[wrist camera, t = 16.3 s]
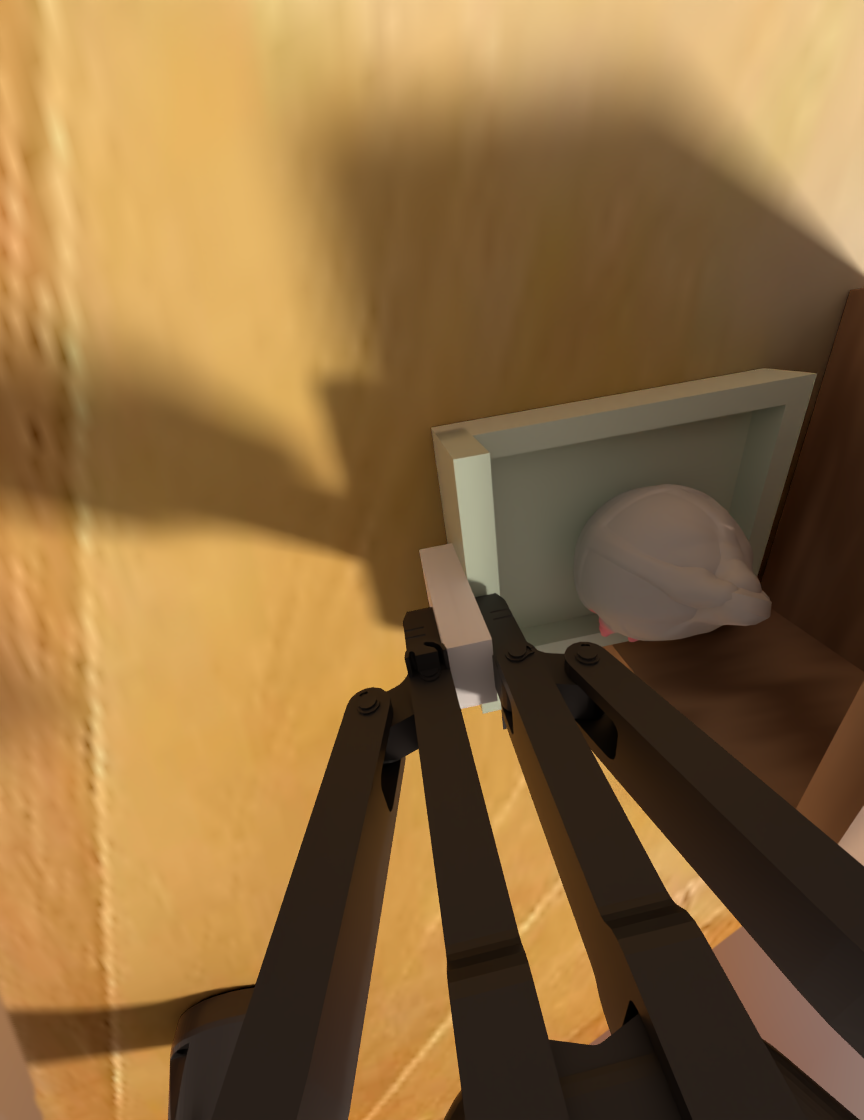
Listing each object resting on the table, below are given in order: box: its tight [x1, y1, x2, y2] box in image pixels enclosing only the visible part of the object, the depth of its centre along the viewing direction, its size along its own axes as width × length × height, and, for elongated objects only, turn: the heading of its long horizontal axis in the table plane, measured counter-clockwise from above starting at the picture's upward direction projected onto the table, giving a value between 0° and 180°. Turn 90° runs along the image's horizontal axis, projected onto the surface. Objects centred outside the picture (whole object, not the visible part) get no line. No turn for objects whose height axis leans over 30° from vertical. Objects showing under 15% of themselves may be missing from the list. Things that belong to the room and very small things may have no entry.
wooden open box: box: [603, 288, 864, 866], centre depth 16 cm, size 11×17×13 cm, turn 8°
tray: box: [431, 368, 817, 713], centre depth 19 cm, size 15×12×5 cm
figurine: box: [573, 484, 772, 642], centre depth 17 cm, size 6×7×8 cm
